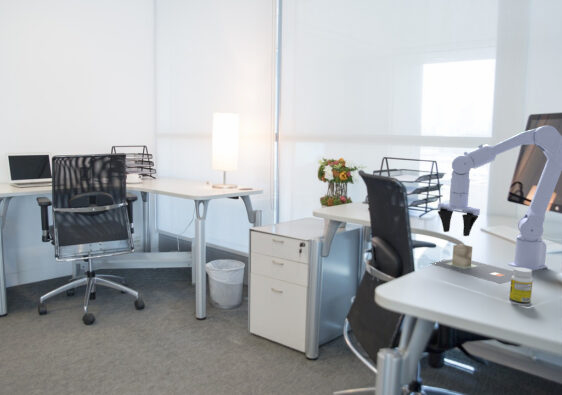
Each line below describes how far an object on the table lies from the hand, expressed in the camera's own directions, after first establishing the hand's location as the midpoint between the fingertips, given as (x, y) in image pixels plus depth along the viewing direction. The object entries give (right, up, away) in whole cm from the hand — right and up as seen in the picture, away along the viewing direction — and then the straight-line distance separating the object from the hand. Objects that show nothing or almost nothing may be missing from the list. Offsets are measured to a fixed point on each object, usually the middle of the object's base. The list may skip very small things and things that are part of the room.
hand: (456, 233), depth 162 cm
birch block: (-1, -9, -8) cm, 12 cm away
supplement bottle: (+1, -14, -42) cm, 44 cm away
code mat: (+2, -10, -13) cm, 17 cm away
